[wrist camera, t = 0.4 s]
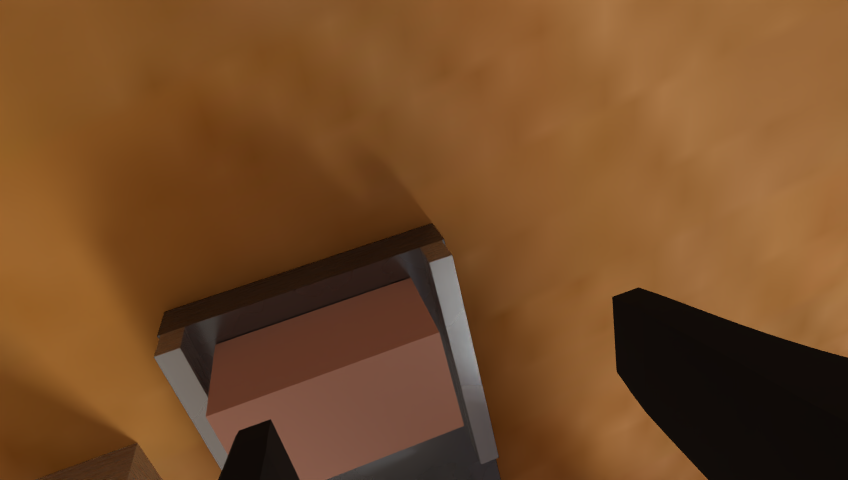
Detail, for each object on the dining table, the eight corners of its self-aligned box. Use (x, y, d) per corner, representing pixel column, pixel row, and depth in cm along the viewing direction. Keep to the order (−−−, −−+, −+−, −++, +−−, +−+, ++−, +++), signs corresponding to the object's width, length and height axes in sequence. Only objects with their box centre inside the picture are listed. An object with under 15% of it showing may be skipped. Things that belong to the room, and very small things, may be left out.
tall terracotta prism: (434, 362, 21) (463, 425, 18) (257, 427, 20) (257, 506, 17) (411, 277, 19) (439, 332, 16) (215, 344, 18) (205, 416, 15)
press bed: (498, 495, 28) (548, 601, 23) (309, 572, 26) (320, 703, 21) (432, 223, 20) (485, 296, 15) (164, 311, 19) (131, 422, 14)
